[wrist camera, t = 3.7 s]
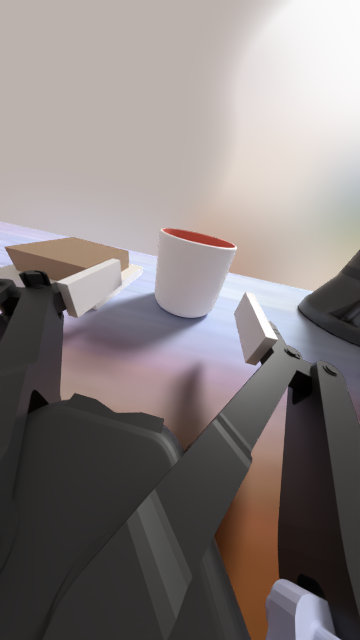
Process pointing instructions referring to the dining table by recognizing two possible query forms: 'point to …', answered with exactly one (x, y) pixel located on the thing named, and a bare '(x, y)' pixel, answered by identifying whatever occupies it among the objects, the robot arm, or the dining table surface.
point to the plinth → (67, 261)
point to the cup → (190, 271)
